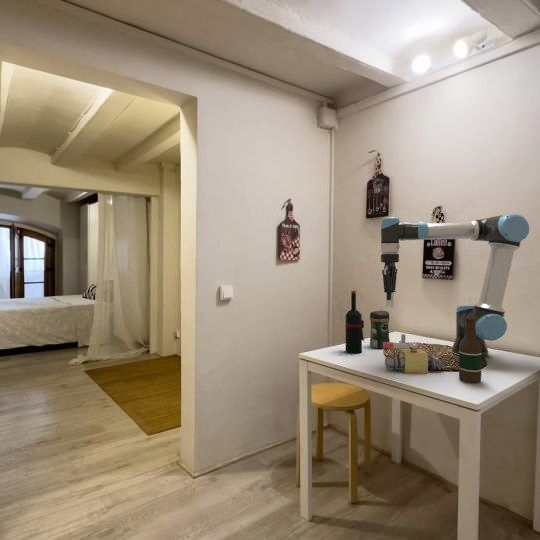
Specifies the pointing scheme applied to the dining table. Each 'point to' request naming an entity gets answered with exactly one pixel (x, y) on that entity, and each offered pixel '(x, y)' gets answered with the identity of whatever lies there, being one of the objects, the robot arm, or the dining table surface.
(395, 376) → the dining table surface
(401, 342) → the pipe connector
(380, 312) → the coffee jar
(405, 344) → the lever
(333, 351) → the dining table surface
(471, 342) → the beer bottle
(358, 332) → the wine bottle
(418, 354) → the pipe
